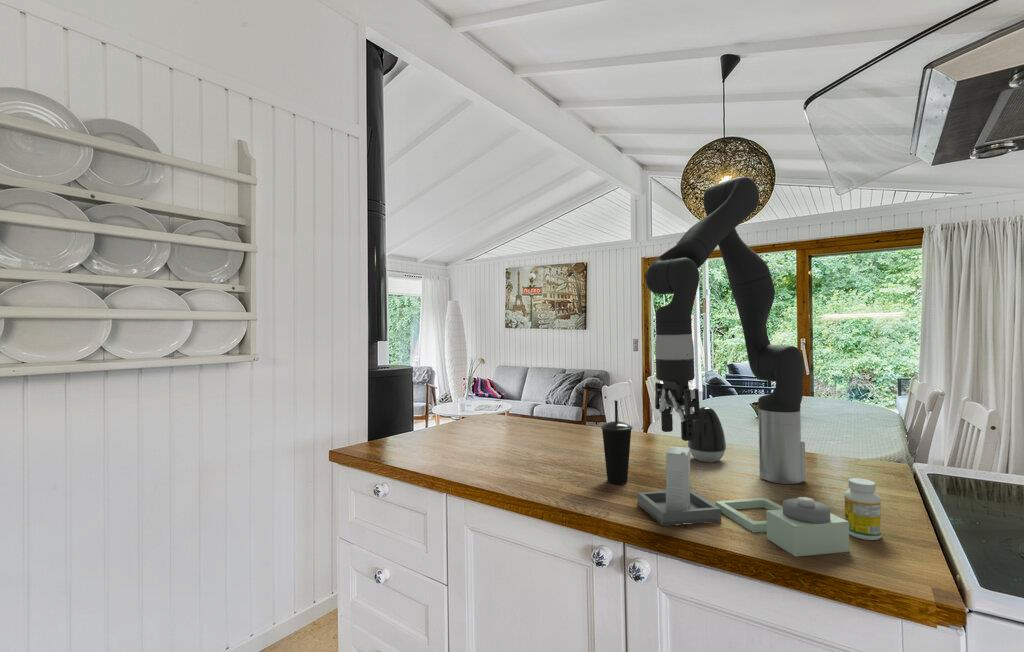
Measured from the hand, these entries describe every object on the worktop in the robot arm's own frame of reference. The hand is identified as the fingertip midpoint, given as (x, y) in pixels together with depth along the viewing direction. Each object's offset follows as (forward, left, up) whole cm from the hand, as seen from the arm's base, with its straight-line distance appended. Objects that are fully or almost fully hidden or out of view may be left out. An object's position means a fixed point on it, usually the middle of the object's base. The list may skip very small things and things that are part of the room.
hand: (676, 435), depth 100 cm
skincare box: (0, 0, -15) cm, 15 cm away
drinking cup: (+5, -22, -16) cm, 28 cm away
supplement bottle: (-27, +16, -16) cm, 35 cm away
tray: (0, 0, -16) cm, 16 cm away
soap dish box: (-14, +10, -16) cm, 23 cm away
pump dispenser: (-27, -36, -16) cm, 48 cm away
